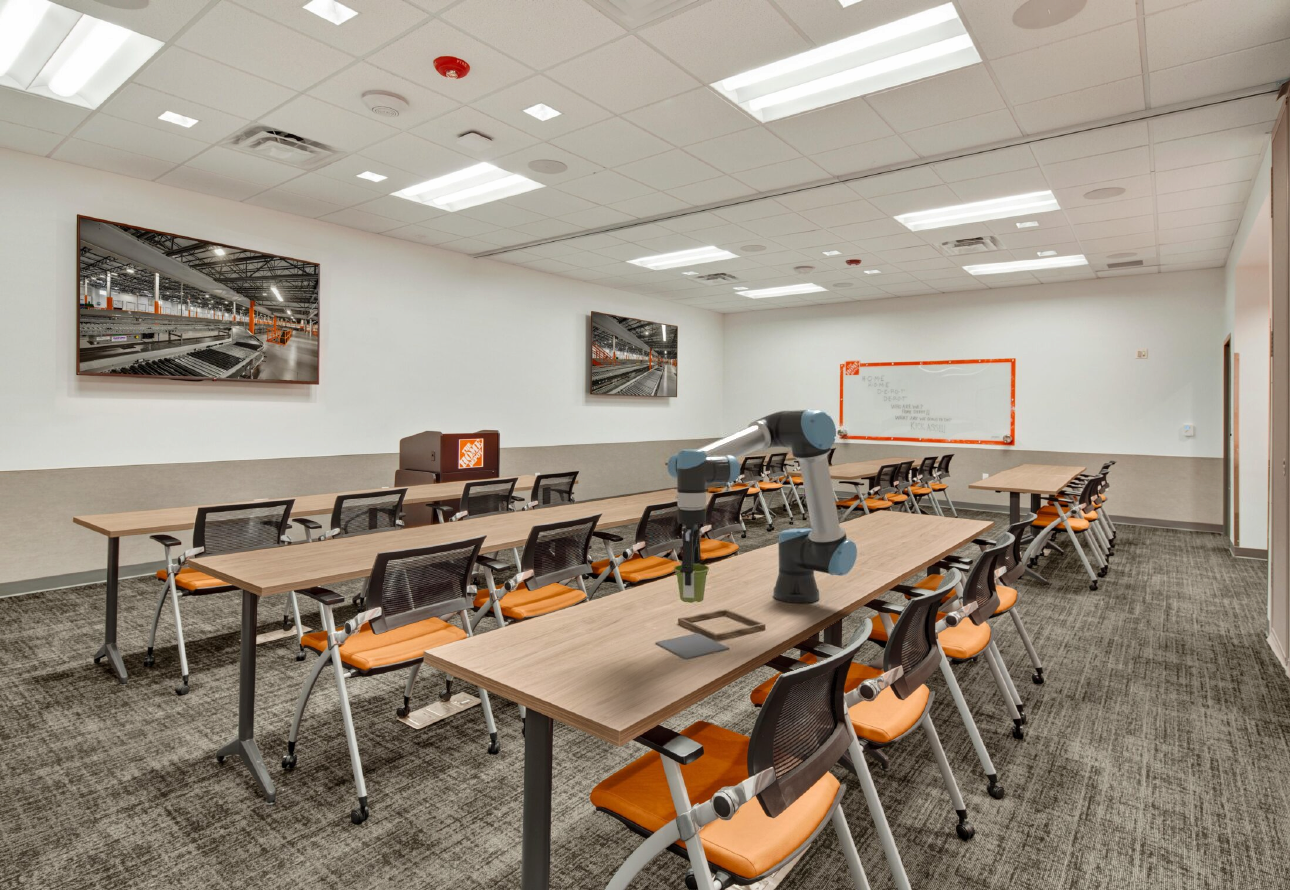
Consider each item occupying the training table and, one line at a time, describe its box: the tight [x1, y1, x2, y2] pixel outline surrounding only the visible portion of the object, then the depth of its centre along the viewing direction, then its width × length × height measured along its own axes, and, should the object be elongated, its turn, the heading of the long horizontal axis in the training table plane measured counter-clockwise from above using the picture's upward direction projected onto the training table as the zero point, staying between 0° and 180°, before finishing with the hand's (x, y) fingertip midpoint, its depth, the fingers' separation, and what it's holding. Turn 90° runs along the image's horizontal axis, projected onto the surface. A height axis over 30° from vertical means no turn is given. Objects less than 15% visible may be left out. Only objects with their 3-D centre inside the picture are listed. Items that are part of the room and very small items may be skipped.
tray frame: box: [677, 608, 766, 642], centre depth 190 cm, size 18×18×2 cm
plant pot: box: [673, 563, 710, 603], centre depth 172 cm, size 9×9×9 cm
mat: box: [655, 632, 730, 661], centre depth 173 cm, size 14×14×1 cm
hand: (691, 592), depth 172 cm, fingers closed on plant pot, 9 cm apart
